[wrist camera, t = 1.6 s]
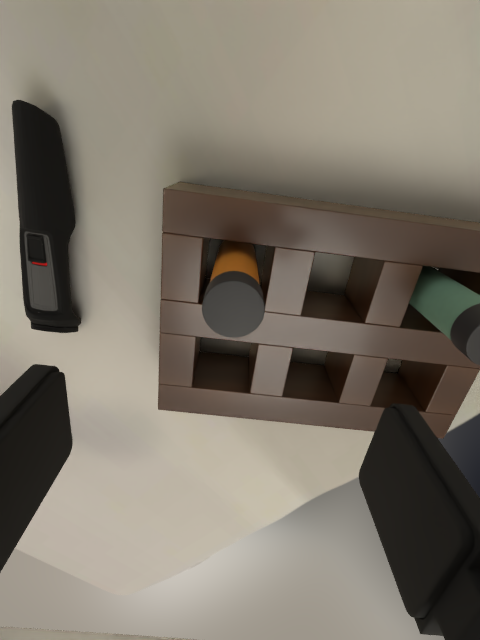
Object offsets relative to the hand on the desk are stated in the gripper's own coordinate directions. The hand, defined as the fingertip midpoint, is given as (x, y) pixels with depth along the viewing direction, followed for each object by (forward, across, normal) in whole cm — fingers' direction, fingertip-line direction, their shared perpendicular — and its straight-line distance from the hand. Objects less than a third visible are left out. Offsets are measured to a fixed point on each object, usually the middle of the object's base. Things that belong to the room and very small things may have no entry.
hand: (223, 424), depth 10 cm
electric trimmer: (+17, +13, 0) cm, 22 cm away
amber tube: (+17, 0, -1) cm, 17 cm away
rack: (+17, -7, +2) cm, 18 cm away
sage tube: (+17, -13, -1) cm, 22 cm away
